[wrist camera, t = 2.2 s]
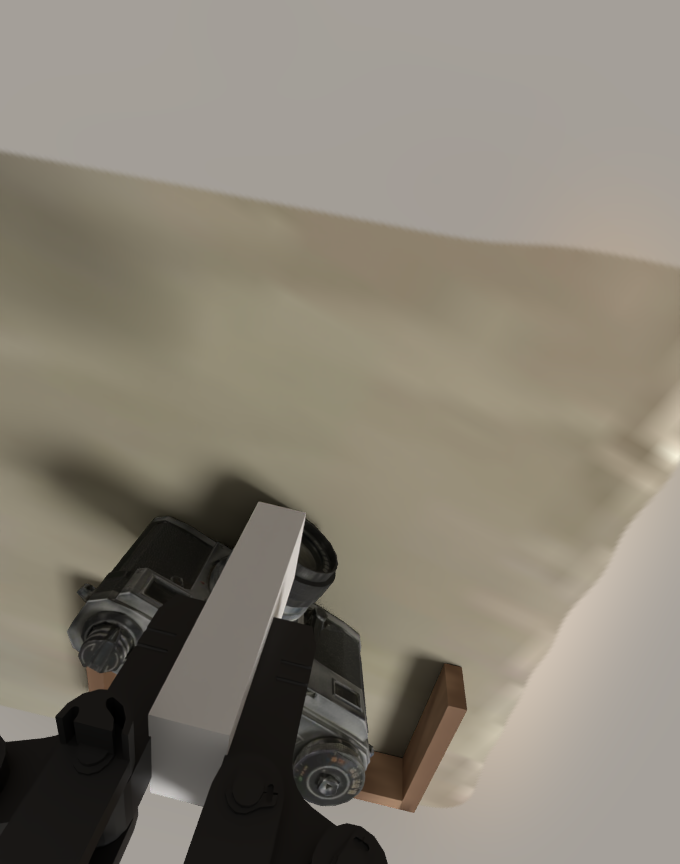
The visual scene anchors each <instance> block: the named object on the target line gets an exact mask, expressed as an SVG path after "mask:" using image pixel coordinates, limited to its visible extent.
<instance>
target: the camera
mask: <svg viewBox="0 0 680 864" xmlns="http://www.w3.org/2000/svg"><path fill="white" fill-rule="evenodd" d="M234 548H235V547H234ZM234 548H233V550H234ZM233 550H231V549H229V548H228V547H226V546H224V545H223V544H221V543H219V542H217V543H216V542H214V541H213V540H211V539H210V538H208V537H207V536H205V535H203V534H202V533H200V532H199V531H197V530H196V529H194V528H193V527H191V526H189V525H187V524H185V523H183V522H181V521H179V520H176V519H174V518H172V517H170V516H166V517H157V518H155V519H154V520H153V521H152V522H151V523H150V524H149V526H148V527H147V528H146V529H145V531H144V532H143V533H142V534H141V535H140V537H139V538H138V539H137V540H136V542H135V543H134V544H133V545H132V547H131V548H130V549H129V550H128V551H127V553H126V554H125V555H124V556H123V558H122V559H121V560H120V562H119V563H118V564H117V565H116V567H115V568H114V569H113V570H112V572H110V573H108V575H107V576H106V577H105V579H104V580H103V582H102V583H101V584H100V585H99V586H98V587H97V589H96V588H95V587H93V586H92V585H90V584H85V585H84V586H83V587H82V588H81V589H80V590H79V591H78V592H77V593H78V594H79V595H80V597H81V598H82V599H83V600H84V601H85V602H86V604H85V605H84V607H83V608H82V609H81V611H80V612H79V614H78V615H77V616H76V618H75V619H74V621H73V622H72V624H71V626H70V627H69V629H68V631H67V633H68V636H69V638H70V641H71V644H72V647H73V648H74V649H76V650H77V651H79V655H78V657H79V659H80V661H81V663H82V665H83V667H89V668H91V669H93V670H94V671H96V672H98V673H106V672H113V673H115V674H118V672H119V671H120V669H121V667H122V666H123V664H124V663H125V661H126V659H127V658H128V656H129V655H130V653H131V652H132V650H133V648H134V647H135V646H136V645H137V642H138V640H139V639H140V637H141V636H142V634H143V632H144V631H146V629H147V626H148V624H149V623H150V621H151V620H152V618H153V617H154V615H155V613H156V612H157V610H158V609H159V608H160V607H161V606H162V605H163V604H165V603H166V602H167V601H168V600H170V599H171V598H172V597H174V596H175V595H176V594H179V595H183V596H187V597H191V598H195V599H199V600H203V601H207V600H208V598H209V596H210V594H211V592H212V590H213V588H214V586H215V584H216V583H217V581H218V579H219V577H220V575H221V573H222V571H223V569H224V567H225V565H226V563H227V561H228V559H229V557H230V556H231V554H232V552H233ZM337 566H338V562H337V555H336V553H335V551H334V549H333V547H332V545H331V543H330V542H329V541H328V540H327V539H326V537H325V536H324V535H323V534H322V533H321V532H320V531H319V530H318V529H317V528H316V527H315V526H314V525H313V524H312V523H310V522H309V521H307V520H306V519H305V522H304V528H303V533H302V539H301V544H300V550H299V555H298V561H297V566H296V571H295V577H294V580H293V584H292V587H291V590H290V593H289V596H288V599H287V603H286V606H285V609H284V612H283V615H282V618H281V619H284V620H288V621H292V622H297V623H301V624H305V625H309V626H312V627H313V632H314V637H315V641H316V646H317V647H316V651H315V656H314V660H313V665H312V670H311V674H310V679H309V684H308V688H307V693H306V697H305V702H304V707H303V711H302V716H301V721H300V725H299V730H298V734H297V739H296V744H295V748H294V753H293V762H292V768H293V776H294V780H295V783H296V786H297V788H298V790H299V792H300V793H301V795H302V797H303V798H304V799H305V800H307V801H308V802H311V803H314V804H317V805H320V806H336V805H339V804H342V803H345V802H348V801H350V800H351V799H352V798H354V797H355V796H356V795H358V794H359V793H360V791H361V790H362V788H363V786H364V782H365V771H366V769H367V766H368V764H369V763H370V758H371V757H372V756H373V755H374V750H373V746H371V745H370V744H368V734H367V733H368V725H367V717H366V707H365V695H364V684H363V674H362V663H361V655H360V651H361V642H360V635H359V634H358V633H357V632H356V631H354V630H353V629H352V628H351V627H349V626H348V625H347V624H346V623H345V622H343V621H342V620H340V619H338V618H337V617H335V616H334V615H332V614H330V613H329V612H327V611H326V610H324V609H323V608H321V607H320V606H318V605H316V604H314V603H315V602H316V601H317V600H318V598H319V597H321V596H322V595H323V593H324V592H325V591H326V590H327V589H328V587H329V586H330V585H331V584H332V583H333V581H334V579H335V571H336V569H337Z"/></svg>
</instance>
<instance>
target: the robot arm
mask: <svg viewBox="0 0 680 864" xmlns="http://www.w3.org/2000/svg"><path fill="white" fill-rule="evenodd" d="M305 517H306V513H305V512H301V511H297V510H293V509H288V508H284V507H280V506H276V505H271V504H267V503H263V502H259V501H258V503H257V505H256V507H255V509H254V511H253V513H252V515H251V517H250V519H249V521H248V523H247V525H246V527H245V528H244V530H243V532H242V534H241V536H240V538H239V540H238V542H237V544H236V546H235V548H234V550H233V552H232V554H231V556H230V557H229V559H228V561H227V563H226V565H225V567H224V569H223V571H222V573H221V575H220V577H219V579H218V581H217V583H216V584H215V586H214V588H213V590H212V592H211V594H210V596H209V598H208V600H207V601H203V600H199V599H195V598H191V597H187V596H183V595H179V594H176V595H175V596H174V597H172V598H171V599H170V600H168V601H167V602H166V603H165V604H163V605H162V606H161V607H160V608H159V609H158V610H157V612H156V613H155V615H154V617H153V618H152V620H151V621H150V623H149V624H148V626H147V629H146V631H144V632H143V634H142V636H141V637H140V639H139V640H138V642H137V645H136V646H135V647H134V648H133V650H132V652H131V653H130V655H129V656H128V658H127V659H126V661H125V663H124V664H123V666H122V667H121V669H120V671H119V672H118V674H117V675H116V677H115V679H114V680H113V682H112V683H111V685H110V687H109V688H108V690H107V689H98V690H94V691H91V692H87V693H84V694H82V695H80V696H78V697H77V698H75V699H74V700H72V701H70V702H69V703H67V704H66V706H65V707H64V708H63V709H62V710H61V711H60V712H59V713H58V714H57V715H56V716H55V718H56V723H57V728H58V733H59V735H56V736H52V737H47V738H41V739H31V740H22V741H12V742H5V741H4V740H3V738H2V737H1V736H0V864H119V863H120V861H121V858H122V856H123V854H124V852H125V849H126V847H127V845H128V843H129V840H130V838H131V836H132V833H133V831H134V828H135V825H136V821H137V817H138V806H139V804H140V801H141V800H142V797H143V795H144V793H145V791H146V789H147V786H148V784H149V782H150V793H154V794H157V795H161V796H165V797H169V798H172V799H176V800H180V801H184V802H187V803H191V804H195V805H198V806H202V807H203V809H202V812H201V815H200V818H199V821H198V824H197V827H196V829H195V832H194V835H193V838H192V841H191V844H190V847H189V850H188V853H187V855H186V858H185V861H184V864H388V863H387V860H386V856H385V853H384V851H383V849H382V848H381V846H380V845H379V843H378V842H377V840H376V838H375V837H374V836H373V835H372V834H370V833H369V832H368V831H366V830H365V829H364V828H362V827H361V826H357V825H352V824H348V823H346V824H342V825H339V826H336V825H335V824H333V823H332V822H331V821H329V820H328V819H327V818H325V817H324V816H323V815H321V814H320V813H319V812H317V811H316V810H315V809H313V808H312V807H311V806H310V805H309V804H308V803H307V802H306V801H305V800H304V798H303V797H302V795H301V793H300V792H299V790H298V788H297V786H296V783H295V780H294V776H293V768H292V762H293V753H294V748H295V744H296V739H297V734H298V730H299V725H300V721H301V716H302V711H303V707H304V702H305V697H306V693H307V688H308V684H309V679H310V674H311V670H312V665H313V660H314V656H315V651H316V647H317V646H316V641H315V637H314V632H313V627H312V626H309V625H305V624H301V623H297V622H292V621H288V620H284V619H281V618H282V615H283V612H284V609H285V606H286V603H287V599H288V596H289V593H290V590H291V587H292V584H293V580H294V577H295V571H296V566H297V561H298V555H299V550H300V544H301V539H302V533H303V528H304V522H305Z"/></svg>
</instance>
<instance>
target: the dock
mask: <svg viewBox="0 0 680 864" xmlns="http://www.w3.org/2000/svg"><path fill="white" fill-rule="evenodd" d="M86 669H87V677H88V686H89V692H91V691H94V690H98V689H107V690H108V688H109V687H110V685H111V683H112V682H113V680H114V679H115V677H116V675H117V674H115V673H113V672H106V673H98V672H96V671H94V670H93V669H91V668H89V667H86ZM466 711H467V706H466V698H465V690H464V682H463V674H462V667H458V666H454V665H450V664H445V663H444V666H443V668H442V670H441V672H440V675H439V677H438V679H437V682H436V684H435V686H434V688H433V691H432V693H431V695H430V697H429V700H428V702H427V704H426V706H425V709H424V711H423V713H422V715H421V718H420V720H419V722H418V724H417V727H416V729H415V731H414V734H413V736H412V738H411V740H410V743H409V745H408V747H407V749H406V752H405V754H404V756H403V758H400V757H396V756H391V755H387V754H383V753H379V752H375V751H374V755H373V756H372V757H371V758H370V763H369V764H368V766H367V769H366V771H365V782H364V786H363V788H362V790H361V791H360V793H359V794H358V795H356V796H355V797H354V798H356V799H360V800H364V801H368V802H372V803H376V804H381V805H384V806H388V807H392V808H396V809H400V810H405V811H409V812H413V813H414V812H415V810H416V808H417V806H418V804H419V802H420V800H421V798H422V797H423V795H424V793H425V791H426V789H427V787H428V785H429V783H430V781H431V779H432V777H433V775H434V773H435V771H436V769H437V767H438V765H439V764H440V762H441V760H442V758H443V756H444V754H445V752H446V750H447V748H448V746H449V744H450V742H451V740H452V738H453V736H454V734H455V732H456V731H457V729H458V727H459V725H460V723H461V721H462V719H463V717H464V715H465V713H466Z"/></svg>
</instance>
